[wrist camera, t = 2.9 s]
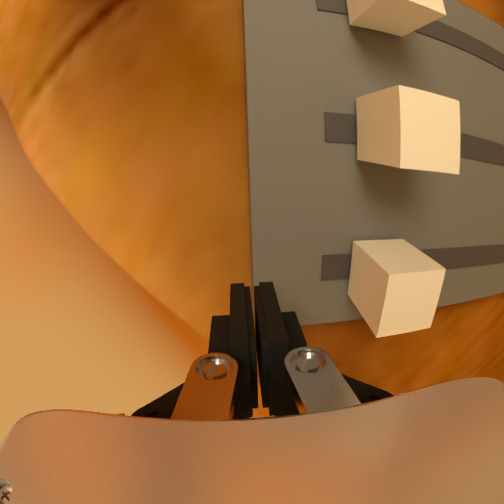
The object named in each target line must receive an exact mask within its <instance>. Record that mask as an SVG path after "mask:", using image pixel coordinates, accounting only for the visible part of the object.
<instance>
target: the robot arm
mask: <svg viewBox="0 0 504 504" xmlns="http://www.w3.org/2000/svg"><path fill="white" fill-rule="evenodd" d="M254 307H255V330H254V321H253V312H252V303H251V294H250V286H247V287H244V283H237V284H231V289H230V315H223V316H212V323H211V332H210V341H209V350H208V354H205V355H203V356H200V357H198V358H197V359H196V360H195V361H194V362H193V364H192V365H191V367H190V370H189V373H188V375H187V378H186V380H185V382H184V383H183V384H181V385H180V386H178V387H176V388H175V389H173V390H171V391H169V392H168V393H166V394H164V395H163V396H161V397H159V398H158V399H156V400H154V401H152V402H151V403H149V404H147V405H145V406H144V407H142V408H140V409H138V410H137V411H135V412H134V413H133V414H132V415H131V416H126V415H125V414H107V413H99V412H91V411H83V410H69V409H65V410H64V409H60V410H59V409H58V410H55V409H54V410H46V411H39V412H34V413H31V414H28V415H26V416H24V417H23V418H21V419H20V420H19V421H18V422H17V423H16V424H15V425H14V426H13V427H12V428H11V430H10V431H9V433H8V434H7V435H6V437H5V438H4V440H3V442H2V443H1V445H0V504H504V382H502V381H500V380H498V379H495V378H490V377H469V378H461V379H456V380H452V381H447V382H443V383H440V384H437V385H433V386H430V387H426V388H422V389H419V390H415V391H412V392H408V393H399V394H398V395H397V396H393V395H392V394H390V393H389V392H387V391H384V390H381V389H379V388H376V387H373V386H371V385H368V384H366V383H363V382H361V381H358V380H355V379H353V378H350V377H348V376H346V375H343V374H341V373H340V371H339V370H338V368H337V367H336V365H335V364H334V363H333V361H332V360H331V358H330V357H329V355H328V354H327V353H326V352H324V351H322V350H321V349H318V348H314V347H307V344H306V341H305V338H304V335H303V332H302V330H301V327H300V324H299V321H298V318H297V315H296V313H295V311H290V312H281V310H280V306H279V303H278V299H277V295H276V292H275V288H274V284H273V282H259V286H254ZM255 336H256V339H255ZM256 351H257V356H256ZM257 360H258V369H259V378H260V387H261V396H262V404H263V408H266V407H269V414H270V416H271V415H275V416H276V417H264V418H250V417H252V415H253V411H252V408H258V388H257Z"/></svg>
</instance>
